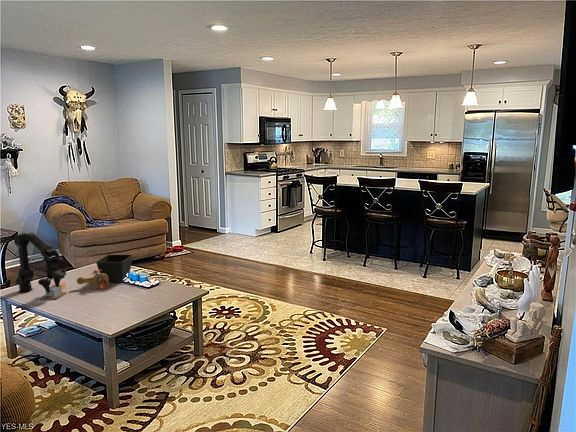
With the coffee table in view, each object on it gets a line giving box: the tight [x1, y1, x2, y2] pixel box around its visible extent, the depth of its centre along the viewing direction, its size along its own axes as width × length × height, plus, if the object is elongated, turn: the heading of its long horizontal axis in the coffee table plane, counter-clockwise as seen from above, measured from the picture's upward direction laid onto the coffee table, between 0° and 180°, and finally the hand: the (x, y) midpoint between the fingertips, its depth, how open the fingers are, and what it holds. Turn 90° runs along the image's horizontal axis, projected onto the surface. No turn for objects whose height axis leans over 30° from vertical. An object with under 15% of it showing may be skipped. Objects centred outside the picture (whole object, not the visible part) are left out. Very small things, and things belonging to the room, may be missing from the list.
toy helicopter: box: [76, 269, 110, 291], centre depth 296 cm, size 8×21×14 cm, turn 96°
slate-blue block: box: [45, 286, 62, 297], centre depth 281 cm, size 6×6×4 cm
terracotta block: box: [51, 281, 67, 292], centre depth 294 cm, size 6×6×4 cm
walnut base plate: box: [39, 291, 67, 301], centre depth 282 cm, size 11×11×1 cm
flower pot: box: [95, 254, 133, 284], centre depth 312 cm, size 19×19×17 cm
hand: (53, 290), depth 281 cm, fingers open, 9 cm apart
